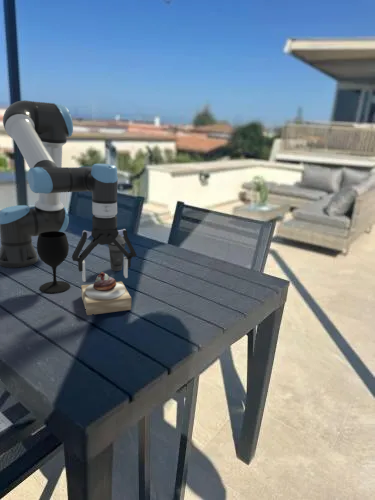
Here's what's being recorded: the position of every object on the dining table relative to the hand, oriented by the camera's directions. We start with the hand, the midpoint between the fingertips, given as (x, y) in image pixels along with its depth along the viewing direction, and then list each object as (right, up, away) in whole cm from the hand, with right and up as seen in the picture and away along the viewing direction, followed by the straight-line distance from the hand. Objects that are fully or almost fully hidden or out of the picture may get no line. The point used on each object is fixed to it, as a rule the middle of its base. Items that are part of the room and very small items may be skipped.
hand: (105, 278), depth 115 cm
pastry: (-1, -3, +3) cm, 4 cm away
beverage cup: (-3, +1, +33) cm, 33 cm away
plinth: (0, -8, +3) cm, 9 cm away
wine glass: (-21, -4, +12) cm, 24 cm away
